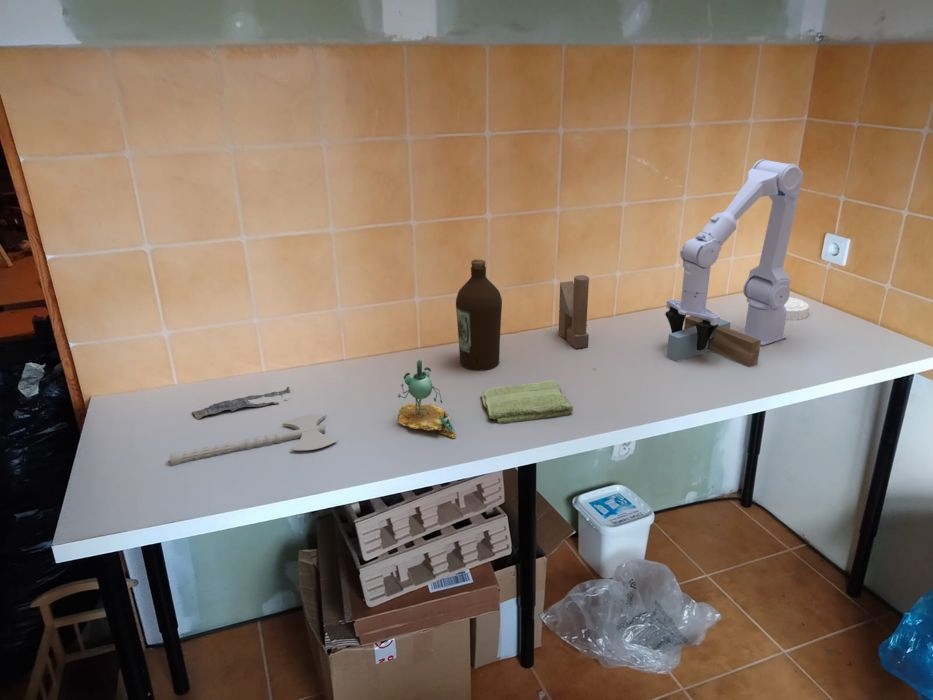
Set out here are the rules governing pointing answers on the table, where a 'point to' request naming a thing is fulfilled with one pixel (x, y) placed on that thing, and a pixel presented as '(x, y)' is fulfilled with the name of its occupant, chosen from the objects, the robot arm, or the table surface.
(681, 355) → the slate crossbar
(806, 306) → the mooncake
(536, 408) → the washcloth
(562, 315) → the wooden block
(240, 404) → the driftwood
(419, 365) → the frog figurine
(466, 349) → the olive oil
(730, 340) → the walnut beam
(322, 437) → the axe
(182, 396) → the table surface
